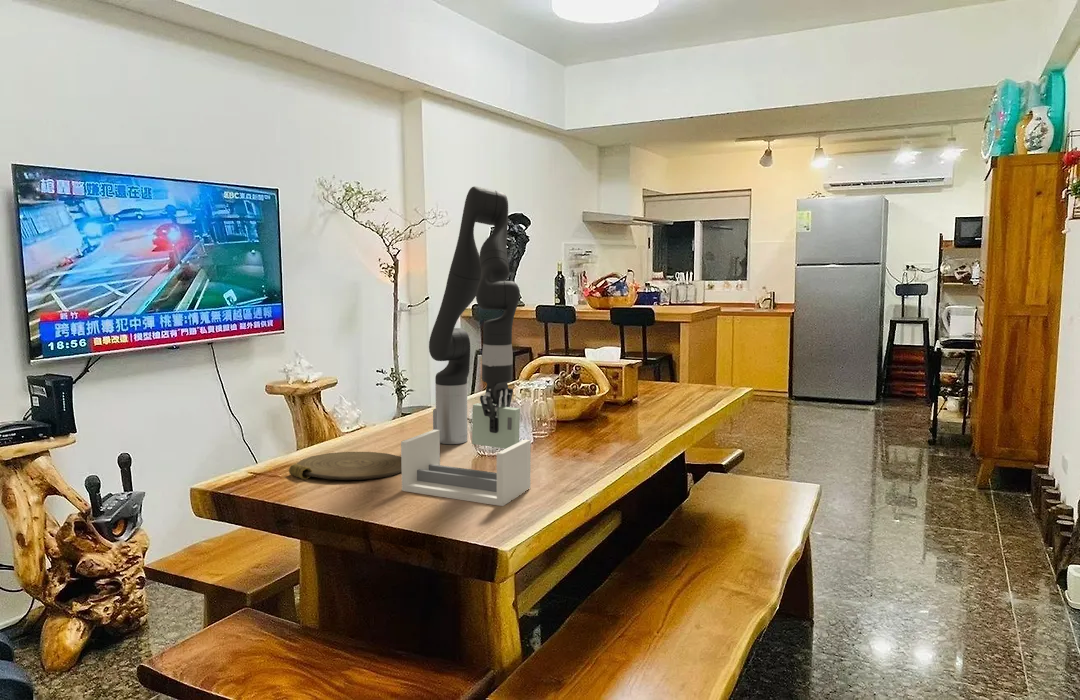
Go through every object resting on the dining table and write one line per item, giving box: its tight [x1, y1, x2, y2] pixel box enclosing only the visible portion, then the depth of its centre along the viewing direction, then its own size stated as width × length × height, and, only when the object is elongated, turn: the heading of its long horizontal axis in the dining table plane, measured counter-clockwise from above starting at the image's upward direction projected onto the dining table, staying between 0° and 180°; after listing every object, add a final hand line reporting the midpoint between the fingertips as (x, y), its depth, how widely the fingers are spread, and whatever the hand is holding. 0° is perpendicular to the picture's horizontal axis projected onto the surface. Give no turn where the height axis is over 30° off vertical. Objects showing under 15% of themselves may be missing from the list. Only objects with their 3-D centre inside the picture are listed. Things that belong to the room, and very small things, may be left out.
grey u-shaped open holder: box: [400, 429, 532, 507], centre depth 171 cm, size 26×14×12 cm, turn 66°
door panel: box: [471, 402, 521, 450], centre depth 185 cm, size 12×3×10 cm, turn 65°
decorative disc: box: [288, 451, 402, 481], centre depth 190 cm, size 29×3×30 cm
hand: (496, 430), depth 185 cm, fingers closed on door panel, 2 cm apart
